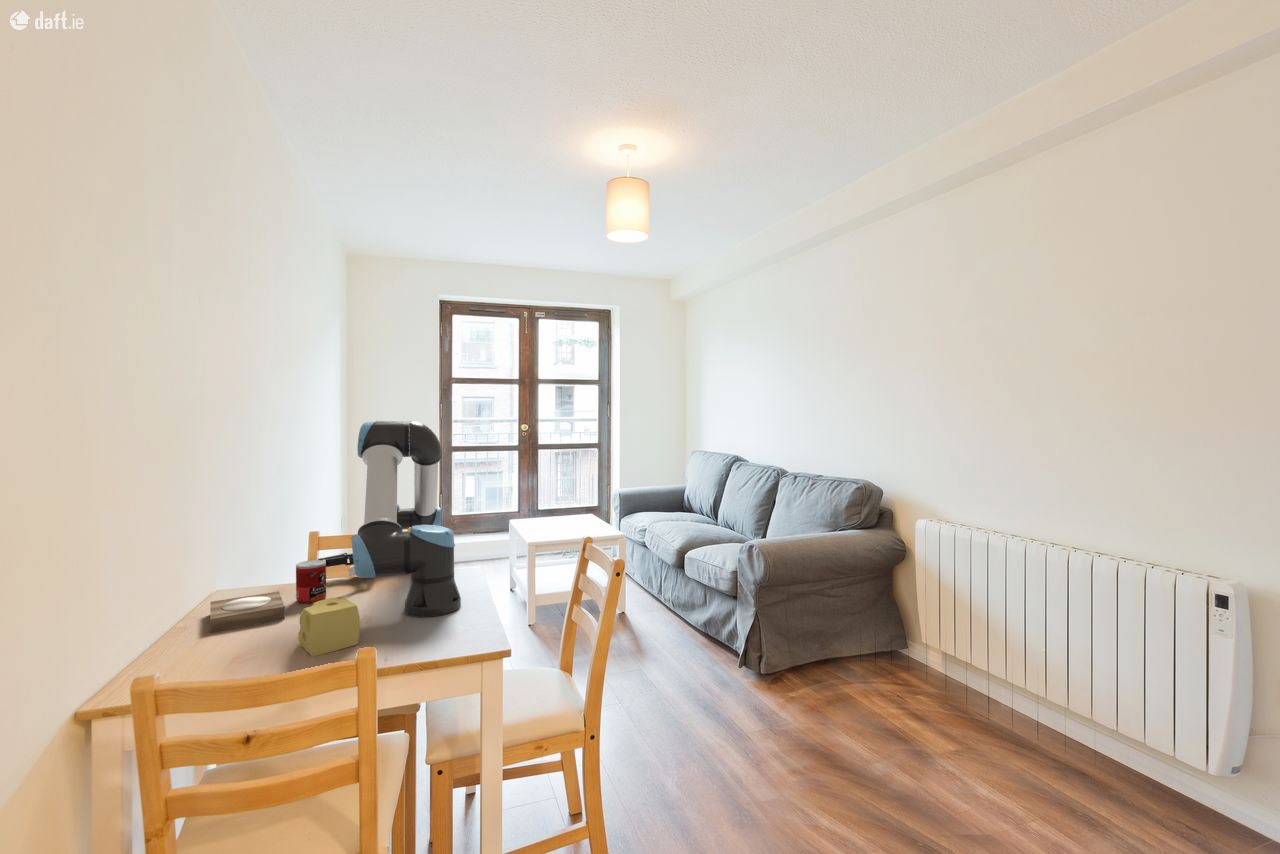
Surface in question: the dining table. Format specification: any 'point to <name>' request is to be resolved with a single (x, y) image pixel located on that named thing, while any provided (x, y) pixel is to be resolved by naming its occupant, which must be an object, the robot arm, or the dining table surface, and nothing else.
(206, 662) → the dining table surface
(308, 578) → the canned food
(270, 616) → the stand
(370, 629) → the dining table surface
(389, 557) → the robot arm
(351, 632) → the cheese
